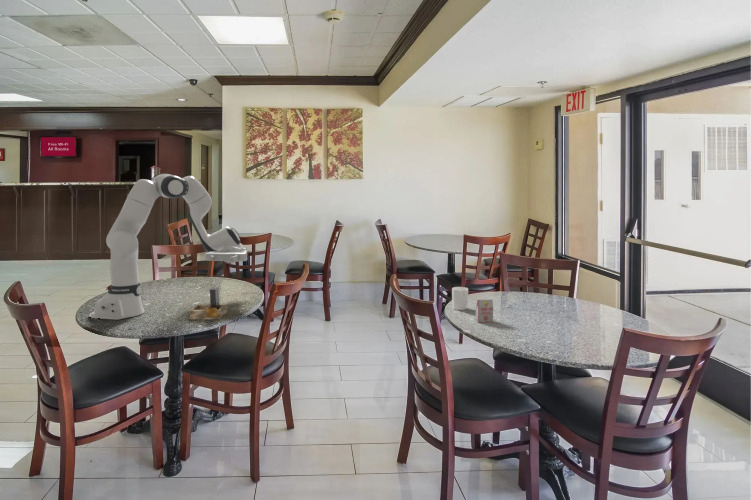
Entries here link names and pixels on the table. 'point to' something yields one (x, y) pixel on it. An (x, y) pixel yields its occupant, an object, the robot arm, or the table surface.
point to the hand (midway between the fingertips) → (222, 258)
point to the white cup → (459, 298)
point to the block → (214, 298)
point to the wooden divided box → (207, 312)
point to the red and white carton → (484, 311)
